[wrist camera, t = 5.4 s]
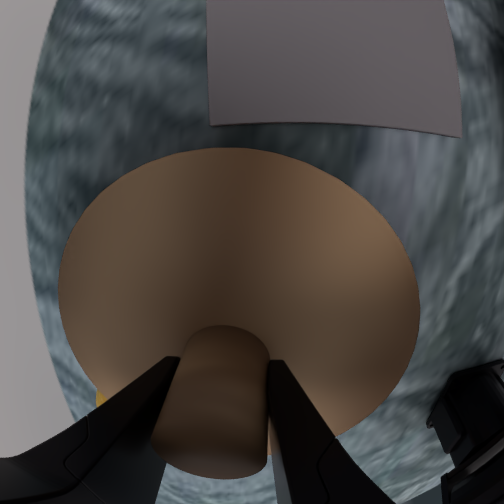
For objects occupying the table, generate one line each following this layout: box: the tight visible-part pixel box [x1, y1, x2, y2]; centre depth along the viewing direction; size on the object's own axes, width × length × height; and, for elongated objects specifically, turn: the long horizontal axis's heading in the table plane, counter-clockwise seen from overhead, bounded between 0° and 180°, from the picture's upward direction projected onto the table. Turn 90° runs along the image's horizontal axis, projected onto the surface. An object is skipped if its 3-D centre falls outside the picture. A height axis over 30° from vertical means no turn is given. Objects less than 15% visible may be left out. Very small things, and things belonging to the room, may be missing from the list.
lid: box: [58, 148, 420, 479], centre depth 7 cm, size 12×12×4 cm
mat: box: [206, 0, 462, 138], centre depth 9 cm, size 12×12×1 cm
